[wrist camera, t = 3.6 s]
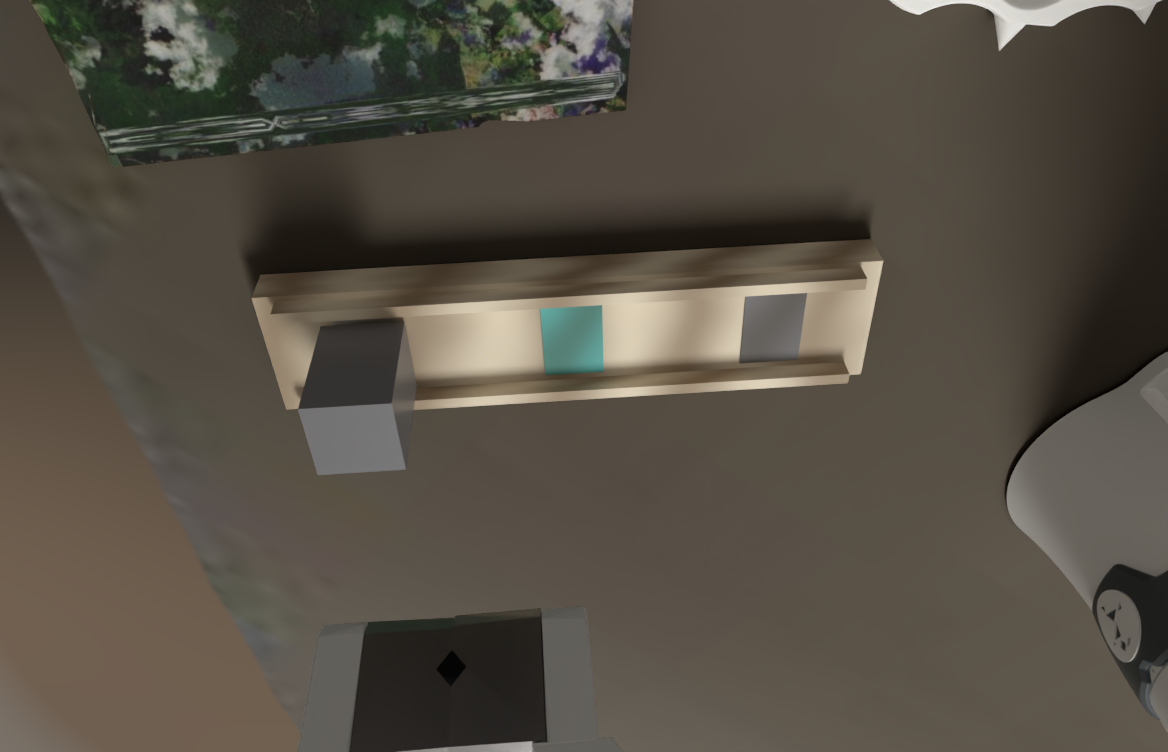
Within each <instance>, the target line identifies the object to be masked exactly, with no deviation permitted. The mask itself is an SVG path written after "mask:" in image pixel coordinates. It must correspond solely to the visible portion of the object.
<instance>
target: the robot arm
mask: <svg viewBox="0 0 1168 752" xmlns="http://www.w3.org/2000/svg"><path fill="white" fill-rule="evenodd" d="M1007 507H1008V511H1009V513H1010V516H1011V518H1012V520H1013V521H1014V523H1015V524H1016V525H1017V526H1018V527H1019V528H1020V529H1021V530H1022V531H1023V532H1024V533H1025V534H1026V535H1027V536H1029V537H1030V538H1031V539H1032V540H1033V541H1034V542H1035V543H1036V544H1037V545H1038V546H1039V547H1040V548H1041V549H1042V550H1043V551H1044V552H1045V553H1046V554H1047V555H1048V556H1049V557H1050V558H1051V560H1052V561H1053V562H1054V563H1055V564H1056V565H1057V566H1058V568H1059V569H1060V570H1061V571H1062V572H1063V573H1064V575H1065V576H1066V577H1067V578H1068V580H1069V581H1070V582H1071V583H1072V585H1073V586H1074V587H1075V588H1076V590H1077V591H1078V592H1079V594H1080V595H1081V596H1082V598H1083V599H1084V601H1085V602H1086V603H1087V605H1088V606H1089V607H1090V609H1091V610H1092V612H1093V615H1094V617H1095V620H1096V622H1097V625H1098V627H1099V629H1100V632H1101V634H1102V636H1103V638H1104V640H1105V642H1106V644H1107V646H1108V648H1109V650H1110V652H1111V654H1112V656H1113V658H1114V659H1115V661H1116V663H1117V665H1118V666H1119V668H1120V670H1121V672H1122V673H1123V675H1124V677H1125V678H1126V680H1127V682H1128V683H1129V685H1130V686H1131V688H1132V690H1133V691H1134V693H1135V694H1136V696H1137V698H1138V699H1139V701H1140V703H1141V704H1142V706H1143V707H1144V709H1145V710H1146V711H1147V712H1148V713H1149V714H1150V715H1151V716H1153V717H1154V718H1156V719H1158V720H1160V721H1161V723H1162V724H1163V726H1164V728H1165V730H1166V731H1167V733H1168V352H1166V353H1164V354H1162V355H1160V356H1159V357H1157V358H1156V359H1154V360H1153V361H1152V362H1151V363H1149V364H1148V365H1147V366H1145V367H1144V368H1143V369H1142V370H1141V371H1139V372H1138V373H1137V374H1136V375H1135V376H1133V377H1132V378H1131V379H1130V380H1129V381H1128V382H1126V383H1125V384H1123V385H1121V386H1120V387H1118V388H1116V389H1114V390H1112V391H1110V392H1108V393H1106V394H1104V395H1102V396H1100V397H1098V398H1096V399H1094V400H1092V401H1090V402H1088V403H1086V404H1084V405H1082V406H1080V407H1078V408H1077V409H1075V410H1073V411H1072V412H1070V413H1069V414H1067V415H1066V416H1064V417H1063V418H1061V419H1060V420H1058V421H1057V422H1056V423H1054V424H1053V425H1052V426H1051V427H1049V428H1048V429H1047V430H1046V431H1045V432H1044V433H1043V434H1041V435H1040V436H1039V437H1038V438H1037V439H1036V440H1035V441H1034V442H1033V444H1032V445H1031V446H1030V447H1029V448H1028V449H1027V451H1026V452H1025V453H1024V454H1023V456H1022V457H1021V459H1020V460H1019V462H1018V463H1017V465H1016V467H1015V469H1014V471H1013V473H1012V475H1011V478H1010V481H1009V484H1008V489H1007ZM541 617H542V622H541ZM297 752H623V750H622V749H621V748H620V747H619V745H618V744H617V743H616V742H615V740H614V739H613V738H612V737H608V738H599V733H598V722H597V712H596V701H595V691H594V681H593V670H592V660H591V649H590V639H589V628H588V618H587V612H586V609H585V606H576V607H565V608H554V609H543V610H542V611H540V608H538V609H526V610H515V611H504V612H493V613H481V614H470V615H459V616H455V617H453V618H435V619H416V620H398V621H379V622H358V623H344V624H330V625H323V627H322V629H321V631H320V633H319V636H318V638H317V641H316V647H315V652H314V658H313V664H312V669H311V675H310V681H309V686H308V692H307V698H306V704H305V709H304V715H303V721H302V726H301V732H300V738H299V744H298V749H297Z"/></svg>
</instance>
